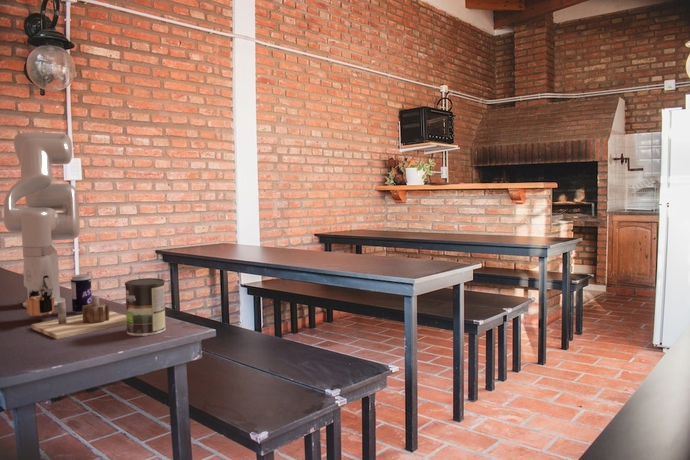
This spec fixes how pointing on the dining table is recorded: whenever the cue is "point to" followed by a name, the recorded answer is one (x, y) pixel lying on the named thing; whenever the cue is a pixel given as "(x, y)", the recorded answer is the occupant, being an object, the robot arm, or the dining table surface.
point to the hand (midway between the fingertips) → (40, 309)
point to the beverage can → (80, 292)
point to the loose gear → (36, 306)
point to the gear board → (81, 320)
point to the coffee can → (145, 306)
